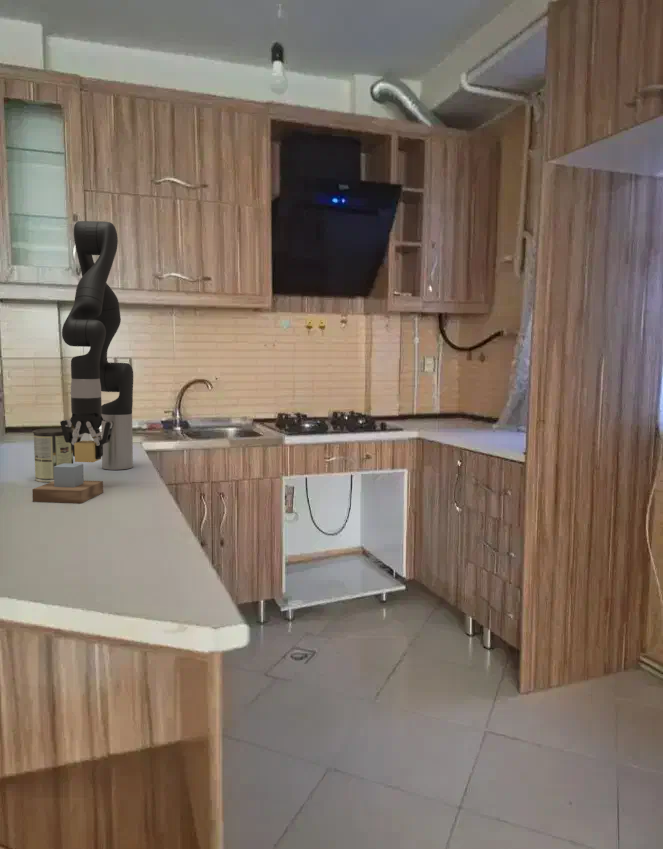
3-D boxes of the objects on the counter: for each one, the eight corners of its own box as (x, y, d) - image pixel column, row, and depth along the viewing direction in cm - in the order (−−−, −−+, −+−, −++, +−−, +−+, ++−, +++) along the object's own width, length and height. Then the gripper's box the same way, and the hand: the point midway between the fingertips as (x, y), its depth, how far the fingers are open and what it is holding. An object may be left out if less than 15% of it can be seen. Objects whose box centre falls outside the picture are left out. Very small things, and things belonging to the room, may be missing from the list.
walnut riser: (58, 490, 157) (58, 479, 157) (103, 492, 156) (102, 481, 156) (32, 501, 145) (32, 489, 145) (81, 503, 144) (81, 490, 144)
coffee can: (47, 474, 178) (46, 427, 176) (80, 476, 177) (79, 428, 175) (26, 481, 168) (25, 431, 166) (61, 483, 167) (60, 432, 165)
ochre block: (83, 458, 165) (82, 440, 164) (101, 458, 165) (100, 440, 164) (74, 461, 160) (74, 443, 159) (93, 462, 160) (92, 443, 159)
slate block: (64, 482, 153) (63, 463, 152) (83, 483, 153) (83, 463, 152) (54, 486, 148) (53, 466, 147) (74, 487, 148) (73, 467, 147)
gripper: (118, 395, 163) (119, 457, 166) (66, 393, 164) (69, 455, 166) (106, 397, 156) (108, 462, 158) (52, 396, 157) (55, 460, 159)
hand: (88, 458), depth 162 cm, fingers closed on ochre block, 5 cm apart
